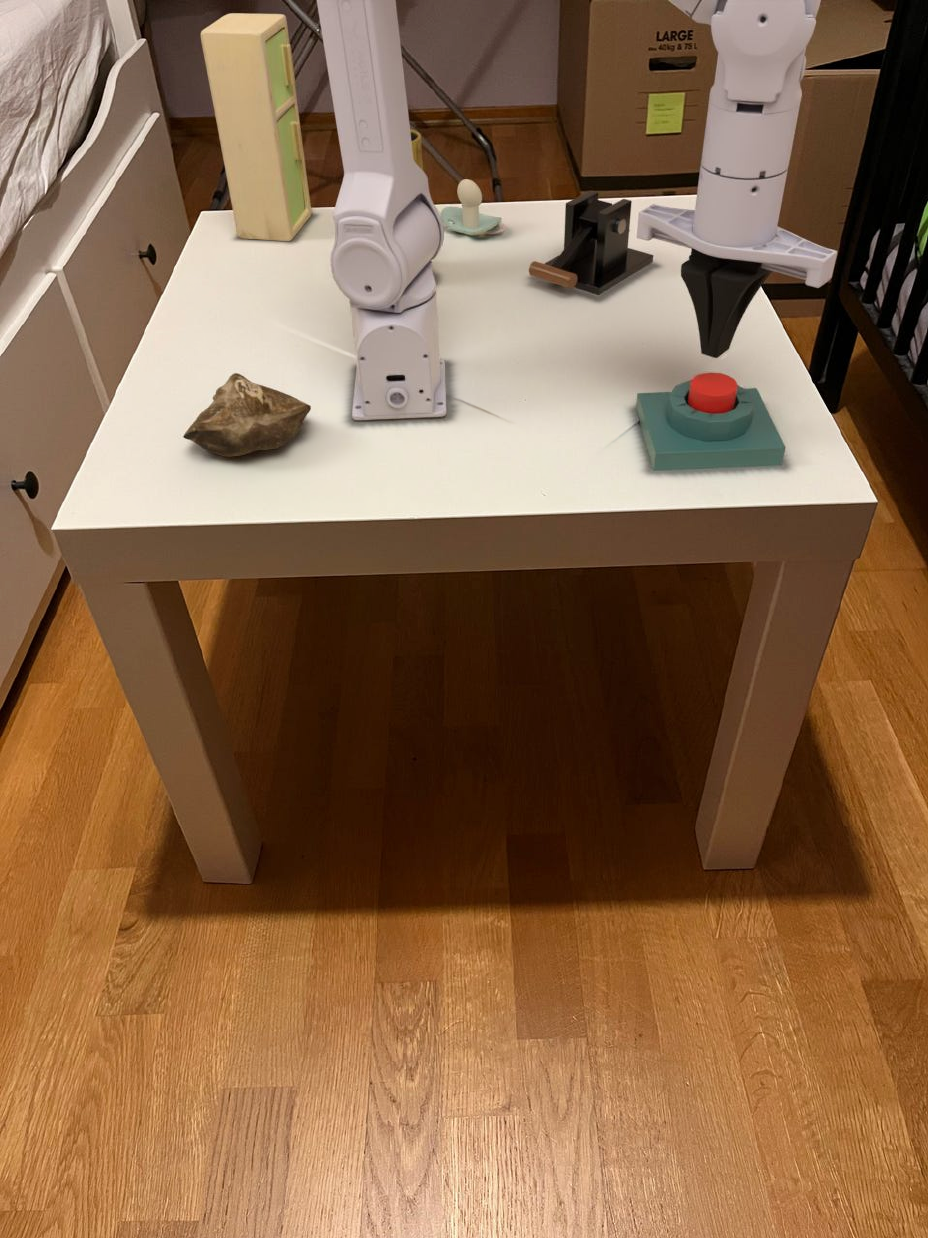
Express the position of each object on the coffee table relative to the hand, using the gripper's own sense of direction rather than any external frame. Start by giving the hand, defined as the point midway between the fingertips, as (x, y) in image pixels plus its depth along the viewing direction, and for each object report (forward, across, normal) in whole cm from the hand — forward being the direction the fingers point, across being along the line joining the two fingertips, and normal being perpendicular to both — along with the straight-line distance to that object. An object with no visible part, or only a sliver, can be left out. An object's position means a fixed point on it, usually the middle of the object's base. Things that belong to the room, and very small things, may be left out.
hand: (715, 350), depth 75 cm
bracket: (+7, +25, -20) cm, 33 cm away
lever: (+4, +25, -17) cm, 30 cm away
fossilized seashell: (+8, +28, +24) cm, 38 cm away
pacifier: (+8, +42, -21) cm, 47 cm away
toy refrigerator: (+8, +61, -8) cm, 62 cm away
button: (+4, -1, 0) cm, 4 cm away
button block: (+7, 0, 0) cm, 7 cm away
